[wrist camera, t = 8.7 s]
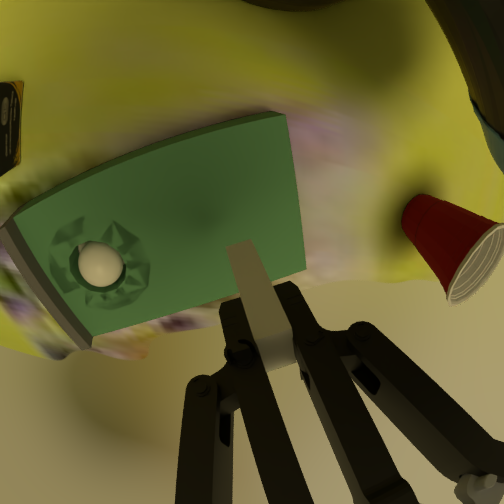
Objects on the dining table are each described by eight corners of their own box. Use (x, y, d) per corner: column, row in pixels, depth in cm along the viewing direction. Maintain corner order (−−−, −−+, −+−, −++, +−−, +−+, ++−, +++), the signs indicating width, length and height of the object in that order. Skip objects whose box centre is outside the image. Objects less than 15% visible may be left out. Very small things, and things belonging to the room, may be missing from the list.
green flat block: (19, 207, 18) (-4, 232, 14) (271, 111, 20) (293, 116, 16) (88, 318, 26) (81, 350, 22) (294, 251, 28) (313, 278, 24)
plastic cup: (372, 253, 32) (435, 319, 22) (402, 168, 26) (488, 219, 16) (424, 252, 35) (478, 304, 25) (450, 183, 29) (518, 227, 20)
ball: (70, 255, 21) (70, 247, 17) (107, 235, 23) (113, 225, 20) (90, 295, 21) (94, 295, 18) (126, 274, 24) (136, 270, 21)
